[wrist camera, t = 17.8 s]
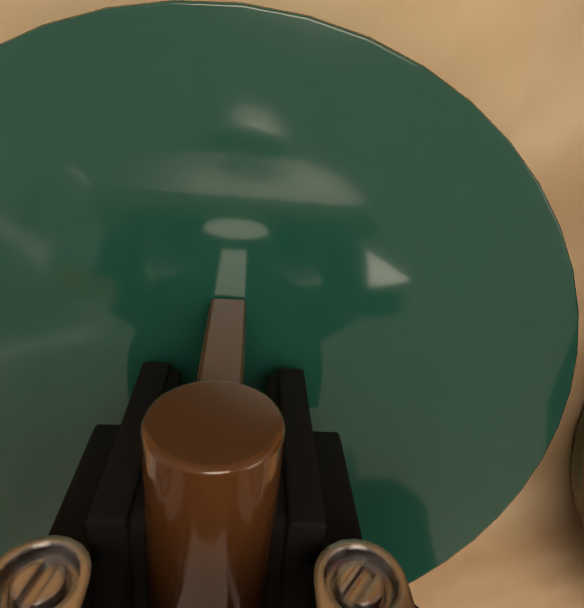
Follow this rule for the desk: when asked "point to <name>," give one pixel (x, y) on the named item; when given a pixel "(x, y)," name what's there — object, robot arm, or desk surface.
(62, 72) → the lid
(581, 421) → the pot
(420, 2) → the desk surface
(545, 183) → the desk surface
